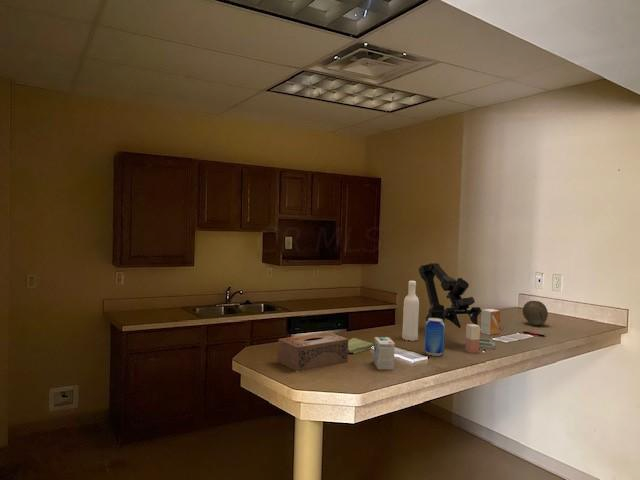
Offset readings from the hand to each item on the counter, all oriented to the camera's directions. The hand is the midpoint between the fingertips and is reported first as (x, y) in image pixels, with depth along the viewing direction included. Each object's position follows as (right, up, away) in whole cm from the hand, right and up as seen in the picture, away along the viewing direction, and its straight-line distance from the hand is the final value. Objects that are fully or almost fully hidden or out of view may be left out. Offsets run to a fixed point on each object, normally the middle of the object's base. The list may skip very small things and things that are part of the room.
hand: (468, 327), depth 221 cm
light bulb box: (-45, -11, -29) cm, 55 cm away
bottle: (-25, -9, +17) cm, 31 cm away
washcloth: (-56, -10, -5) cm, 57 cm away
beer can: (-19, -11, -9) cm, 24 cm away
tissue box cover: (-74, -10, -28) cm, 80 cm away
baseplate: (+10, -11, +9) cm, 17 cm away
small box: (+23, -10, +35) cm, 43 cm away
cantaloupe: (+60, -10, +61) cm, 86 cm away
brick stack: (+1, -11, -3) cm, 11 cm away
